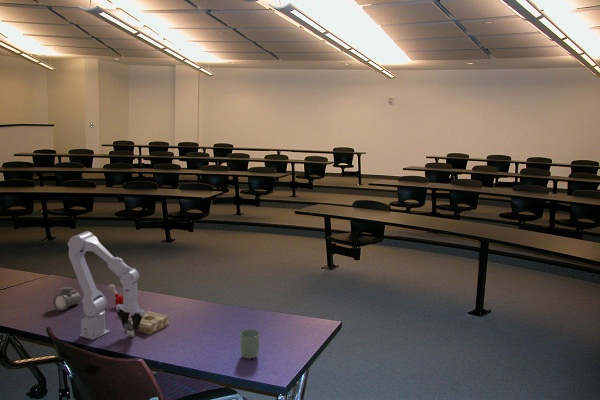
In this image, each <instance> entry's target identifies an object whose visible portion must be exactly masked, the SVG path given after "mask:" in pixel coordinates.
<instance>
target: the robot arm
mask: <svg viewBox="0 0 600 400" xmlns="http://www.w3.org/2000/svg"><path fill="white" fill-rule="evenodd" d="M67 246H68V258H69V260H70V263H71V265H72V268H73V271H74V273H75V276H76V277H77V278H76V279H77V280H78V283H79V287H80V288H81V291H82V294H83V297H82V299H81V302H82V305H83V306H82V311H83V313H84V314H85V316H84V317H83V318H82V319H81V321H80V334H79V336H80V337H83V338H86V339H89V340H96V339H97V338H99V337H102V336H104V335H106V334H109V333H111V330H109V329H106V310H105V309H106V308H107V307H108V305H109V304H108V303H109V302H108V299H107V298H106V297H105V296H104V294H103V293H102V291H100V290H99V289H98V288H97V286H96V283H95V280H94V279H93V276H92V273H91V271H90V269H89V266H88V264H87V261H86V258H85V254H86V253H87V252H92V253H94V254H95V255H97V256H98V257H99V258H101V259H102V260H103V261H105V263H107V268H108V269H109V270H110V271H111V272H113V273H114V274H115V276H117V277H118V278H119V281H120V283H121V285H122V296H123V304H118V305H116V304H115V309H116V311H117V312H116V313H117V316H118V317H119V319H120V322H121V325H122V327H123V329H124V322H125V321H128V320H130V319H132V321H133V329H134V331H137V330H138V329H139V325H140V322H141V319H142V317H143V316H144V315H145V312H146V310H144V309H142V308H140V306H139V305H138V280H139V278H140V272H139V271H138V270H137V269H136V268H135V267H131V266H129V265H127V264H126V263H125V262H124V260H123V258H120V257H119V256H113V254H111V252H110V251H108V250H107V248H105V246H103V244H101V242H100V241H99V239H98V237H97V236H95V235H94V234H93V233H92V232H90V231H88V230H86V231H83V232H82V233H79V234H77V235H73V236H72V237H70V239H69V240H68V242H67ZM118 310H119V311H118ZM130 314H132V315H131V316H130ZM129 318H130V319H129Z"/></svg>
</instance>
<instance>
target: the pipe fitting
mask: <svg viewBox="0 0 600 400" xmlns="http://www.w3.org/2000/svg"><path fill="white" fill-rule="evenodd" d="M81 302H82V296H81V294H80V293H79V292H78V291H77V290H75V289H73V288H72V287H71V286H65V287H61V288H60V293H57V294H55V295H54V296H53V301H52V303H53V306H54V308H55V310H57V311H59V312H64V311H66V310H67V309H68V308H70V307H71V306H76V305H78V304H80V303H81Z"/></svg>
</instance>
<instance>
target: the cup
mask: <svg viewBox="0 0 600 400" xmlns="http://www.w3.org/2000/svg"><path fill="white" fill-rule="evenodd" d="M260 336H261V334H260V331H259V330H257V329H252V328H251V329H250V328H247V329H244V330H241V331H240V332H239V350H240V354H241V356H242V357H243V358H244V359H246V358H247V359H246V360H252V359H251V358H253V359H255V358H257V356H258V355H259V353H260V352H259V351H260V343H261V341H260V339H261V337H260Z"/></svg>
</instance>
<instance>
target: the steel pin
mask: <svg viewBox="0 0 600 400" xmlns="http://www.w3.org/2000/svg"><path fill="white" fill-rule="evenodd" d="M123 329H124V330H126V332H127V333H126V335H127V336H126V337H127V338H133V337H135V333H136V332H135V331H134V329H133V321H132V320H130V319H128V321H125V322H124V328H123Z"/></svg>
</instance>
